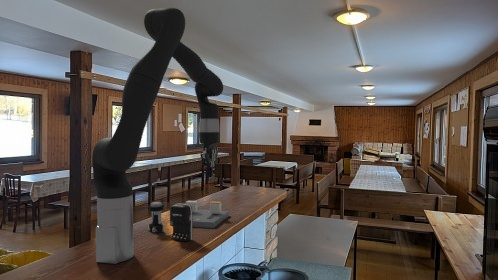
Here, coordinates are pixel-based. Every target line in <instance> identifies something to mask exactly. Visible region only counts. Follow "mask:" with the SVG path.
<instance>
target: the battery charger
mask: <svg viewBox="0 0 498 280" xmlns="http://www.w3.org/2000/svg"><path fill="white" fill-rule="evenodd" d="M170 221H172V222H173V225H172V235H171V239H172V240H174V241H178V242H189V241H192V240H193V227H192V224H193V214H192V207H191V206H190V205H188V204H186V203H175V204H173V205H171V206H170V209H169V222H170Z"/></svg>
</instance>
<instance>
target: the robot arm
mask: <svg viewBox="0 0 498 280" xmlns="http://www.w3.org/2000/svg"><path fill="white" fill-rule="evenodd" d="M143 23H144V24H143V25H144V29H145V31H146V32H147V34H148V36H149V37H150V38H152V39H153V41H154V43H153V45H152V46H151V48H150V49H149V50H148V51H147V52H146V53H145V54H144V55H142V57H141V58H140V59H139V60H138V61H137V62H136V63H135V64H134V65H133V67H132V68H131V70H130V72H129V74H128V76H127V79H126V81H125V84H124V86H123V90H122V94H121V95H122V96H121V97H122V98H121V115H120V118H119V119H120V120H119V123H118V124H117V127H116V129H115V131H114V133H113V135H112V137H105V138H101V139H100V140H99V141H97V143H96V144H95V145H94V148H93V149H92V156H91V159H92V160H91V161H92V176H93V178H92V179H93V185H94V188H95V191H96V205H97V206H96V207H97V208H96V210H97V214H96V217H97V226H96V227H95V259H96V260H95V261H96V263H105V264H116V265H117V264H118V263H121V262H125V261H128V260H130V259H132V258H133V257H134V256H135V248H134V247H135V246H134V204H133V202H134V201H133V198H134V197H133V185H132V184H131V182H130V181H129V179H128V177H127V173H126V172H127V171H128V170H129V169H131V167H132V166H134V164H135V162H136V160H137V157H138V154H139V150H140V147H141V143H142V138H143V135H144V131H145V127H146V125H147V123H148V119H149V117H150V115H151V111H152V109H153V106H154V104H155V101H156V99H157V97H158V94H159V92H160V89H161V86H162V83H163V80H164V77H165V75H166V72H167V69H168V67H169V65H170V62H171V60H172V59H174V60H175V61H176V62H177V63H178V64H179V65H180V67H181V68H182V69H183V70H184V72H185V73H186V74H187V76H188V77H189V79H190V80H191V81H192V82H193V83H195V84H194V92H195V95H196V96H195V97H196V99H197V103H198V107H199V123H198V129H199V131H198V133H199V134H198V135H199V137H198V139H199V144H201V145H203V147H202V152H201V153H200V159H201V161H202V165H203V166H204V167H205V170H206V171H205V176H206V177H207V178H213V177H214V167H215V165H216V164H217V158H218V156H219V152H218V151H217V148H216V144H217V145H218V144H220V120H219V116H220V115H219V111H220V110H219V105H218V104H217V103H215V102H210V101H209V97H219V96H220V95H222V93H223V90H224V84H223V81H222V79H221V78H220V77H219V76H218V75H217V74H215V72H213V71H212V70H211V69H209V68H208V67H207V66H206V64H205V62H204V61H203V60H202V58H201V57H200V56H199V55H198V54H197V53H196V52H195V51H194V50H192V48H190V47H189V46H187V45H185V44H184V43H183V42H182V41H181V40H182V37H183V36H184V32H185V30H186V29H185V28H186V18H185V14H184V13H183V11H182V10H180V9H179V8H176V7H160V8H159V7H158V8H152V9H149V10H147V12H146V14H145V15H144V17H143Z"/></svg>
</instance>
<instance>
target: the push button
mask: <svg viewBox="0 0 498 280" xmlns="http://www.w3.org/2000/svg"><path fill="white" fill-rule="evenodd" d="M164 207H165V204H162V201H152V202H151V203H150V204H149V205H148V207H147V208H148V210H149V212H151V223H149V224H148V225H147V227H148V228H147V230H149V232H151V233H157V234H160V233H163V232H164V224H163V223H162V212H163V211H164Z"/></svg>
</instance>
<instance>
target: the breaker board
mask: <svg viewBox="0 0 498 280" xmlns="http://www.w3.org/2000/svg"><path fill="white" fill-rule="evenodd" d="M198 203H199V202H198V200H186V201H185V204H188V205H190V206H191V207H192V214H193V224H192V228H208V229H215V228H216V227H217V226H219V225H220V224H221V223H222V222H223V221H224V220H226V219H227V218H228V217H229V216H230V211H229V210H222V212H221V213H220V214H216V213H210V209H198V208H199V207H198ZM169 226H173V222H172V221H170V220H169Z"/></svg>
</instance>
